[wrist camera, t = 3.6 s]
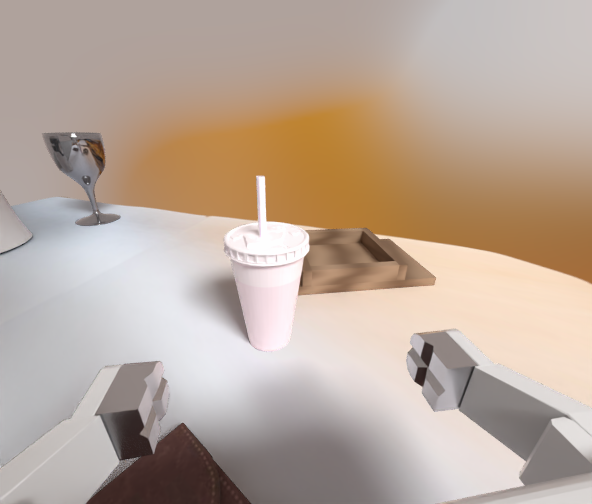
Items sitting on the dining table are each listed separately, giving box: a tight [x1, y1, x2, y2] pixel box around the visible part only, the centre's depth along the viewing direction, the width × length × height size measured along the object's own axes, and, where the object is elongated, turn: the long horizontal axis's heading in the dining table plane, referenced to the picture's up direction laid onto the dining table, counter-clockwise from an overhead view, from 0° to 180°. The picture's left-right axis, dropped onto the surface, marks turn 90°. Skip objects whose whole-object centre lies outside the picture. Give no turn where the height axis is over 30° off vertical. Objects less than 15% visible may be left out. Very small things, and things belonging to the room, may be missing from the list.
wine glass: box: [42, 133, 120, 226], centre depth 49 cm, size 8×8×15 cm
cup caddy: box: [298, 228, 436, 295], centre depth 36 cm, size 20×12×3 cm, turn 99°
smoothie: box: [224, 176, 310, 352], centre depth 22 cm, size 6×6×14 cm
